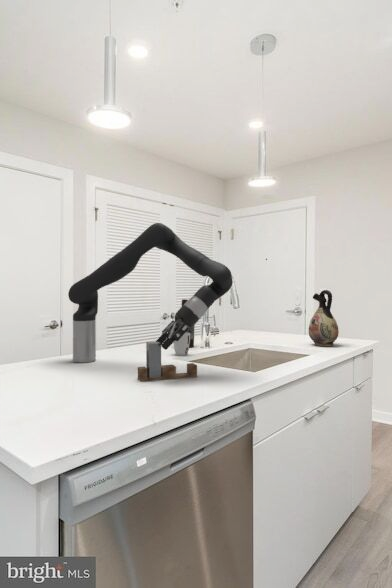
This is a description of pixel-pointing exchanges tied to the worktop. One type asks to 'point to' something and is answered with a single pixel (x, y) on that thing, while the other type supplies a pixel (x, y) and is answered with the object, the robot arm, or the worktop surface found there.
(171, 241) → the robot arm
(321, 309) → the ceramic jug
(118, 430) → the worktop surface
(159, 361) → the gray rectangular block
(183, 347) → the cup
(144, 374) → the brown notched bar
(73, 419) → the worktop surface
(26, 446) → the worktop surface
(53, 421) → the worktop surface
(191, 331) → the olive oil
